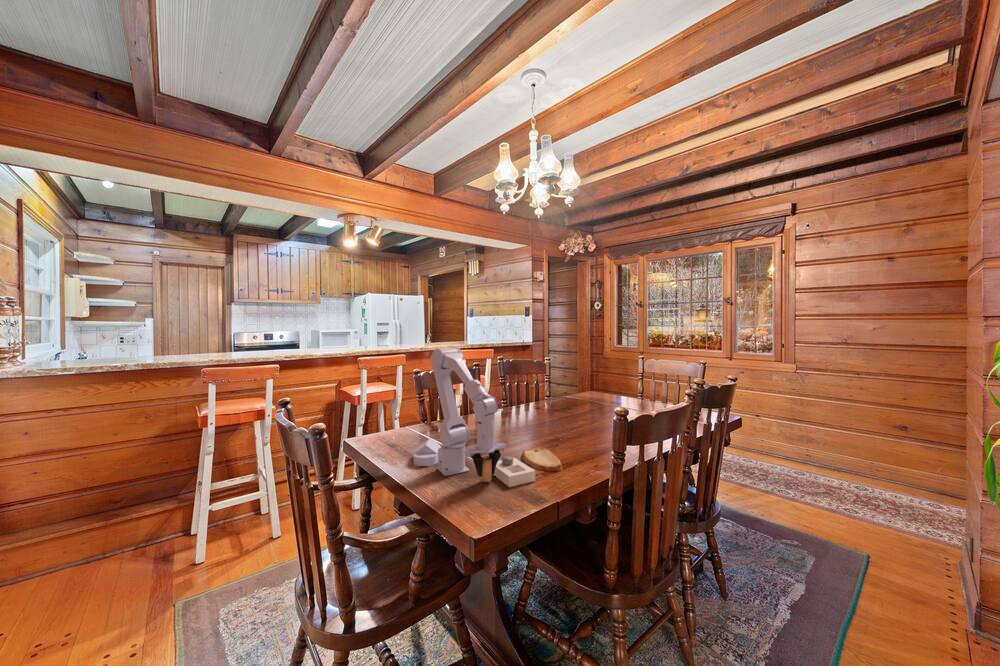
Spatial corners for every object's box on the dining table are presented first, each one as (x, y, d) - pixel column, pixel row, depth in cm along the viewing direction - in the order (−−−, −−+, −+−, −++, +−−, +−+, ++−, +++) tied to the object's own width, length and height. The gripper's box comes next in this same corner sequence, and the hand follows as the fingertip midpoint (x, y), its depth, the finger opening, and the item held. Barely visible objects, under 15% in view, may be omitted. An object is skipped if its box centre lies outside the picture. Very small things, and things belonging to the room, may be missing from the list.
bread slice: (561, 474, 136) (561, 463, 136) (512, 467, 142) (512, 457, 142) (570, 456, 153) (570, 447, 153) (526, 451, 159) (526, 442, 159)
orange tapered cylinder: (482, 482, 126) (482, 461, 125) (477, 478, 129) (477, 457, 129) (494, 480, 127) (494, 459, 127) (488, 475, 131) (488, 455, 131)
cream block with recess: (509, 487, 125) (509, 470, 124) (489, 472, 137) (489, 456, 137) (535, 481, 129) (535, 464, 129) (514, 466, 142) (514, 452, 141)
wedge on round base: (419, 454, 155) (411, 466, 142) (419, 437, 155) (410, 448, 142) (441, 454, 155) (435, 466, 142) (441, 437, 155) (435, 448, 142)
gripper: (470, 440, 121) (470, 483, 121) (510, 434, 128) (510, 474, 128) (461, 434, 127) (461, 475, 127) (500, 428, 134) (500, 467, 134)
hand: (485, 474), depth 128 cm, fingers closed on orange tapered cylinder, 4 cm apart
